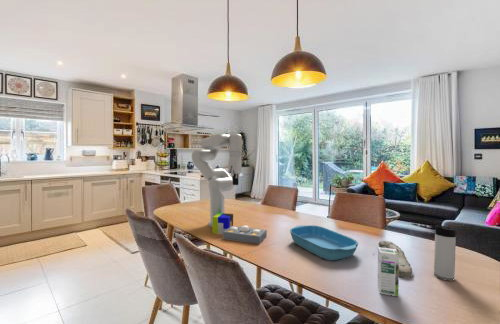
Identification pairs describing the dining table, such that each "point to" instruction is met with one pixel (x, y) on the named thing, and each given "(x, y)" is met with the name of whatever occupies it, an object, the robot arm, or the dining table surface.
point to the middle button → (245, 228)
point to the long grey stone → (403, 263)
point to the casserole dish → (323, 242)
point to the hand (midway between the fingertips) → (235, 184)
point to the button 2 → (256, 231)
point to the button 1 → (233, 228)
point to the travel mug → (444, 252)
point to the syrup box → (388, 271)
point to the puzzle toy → (222, 222)
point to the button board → (245, 235)
